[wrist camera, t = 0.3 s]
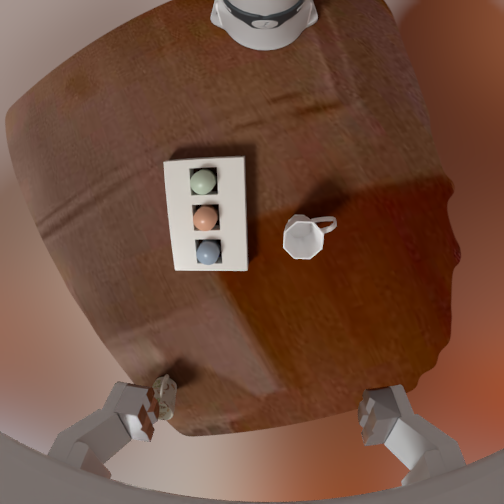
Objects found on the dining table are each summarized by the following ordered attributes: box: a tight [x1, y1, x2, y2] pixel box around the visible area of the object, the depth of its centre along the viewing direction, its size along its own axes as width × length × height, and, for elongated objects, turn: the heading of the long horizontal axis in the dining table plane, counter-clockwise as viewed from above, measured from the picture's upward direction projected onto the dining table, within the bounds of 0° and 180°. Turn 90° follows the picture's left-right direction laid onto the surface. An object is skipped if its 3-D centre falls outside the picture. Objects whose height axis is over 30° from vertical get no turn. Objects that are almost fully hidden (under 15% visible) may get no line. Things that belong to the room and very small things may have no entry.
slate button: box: [196, 239, 221, 265], centre depth 56 cm, size 4×4×3 cm
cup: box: [283, 215, 337, 259], centre depth 52 cm, size 7×10×8 cm
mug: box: [152, 374, 177, 420], centre depth 70 cm, size 8×13×10 cm, turn 166°
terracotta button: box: [193, 205, 218, 231], centre depth 53 cm, size 4×4×3 cm
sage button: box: [190, 169, 217, 195], centre depth 50 cm, size 4×4×3 cm
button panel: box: [163, 156, 248, 271], centre depth 54 cm, size 21×14×3 cm
